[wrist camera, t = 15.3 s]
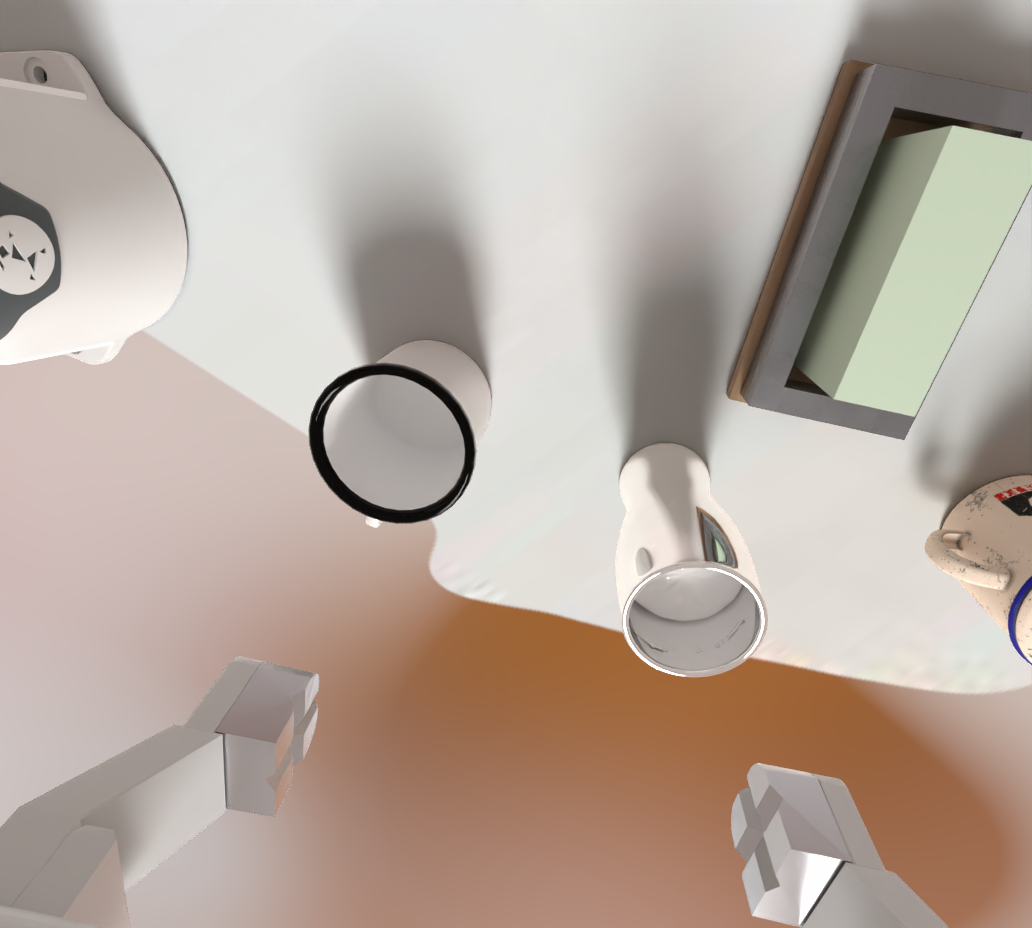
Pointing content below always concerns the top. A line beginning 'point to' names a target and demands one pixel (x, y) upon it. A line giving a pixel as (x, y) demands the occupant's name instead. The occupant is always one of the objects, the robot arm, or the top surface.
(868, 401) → the green bar
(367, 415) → the mug
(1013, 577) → the teacup with lid
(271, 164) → the top surface
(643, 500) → the white tumbler
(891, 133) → the locating frame
